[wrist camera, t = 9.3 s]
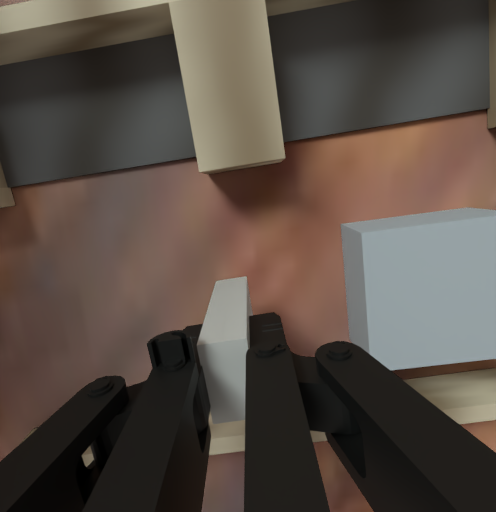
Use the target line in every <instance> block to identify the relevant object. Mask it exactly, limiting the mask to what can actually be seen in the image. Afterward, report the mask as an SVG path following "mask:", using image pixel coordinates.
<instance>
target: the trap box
mask: <svg viewBox="0 0 496 512" xmlns="http://www.w3.org/2000/svg"><path fill="white" fill-rule="evenodd" d="M482 109H487V122H488V129H489V128H495V127H496V0H33V1H28V2H22V3H17V4H12V5H7V6H2V7H0V208H4V207H10V206H16V205H15V202H14V198H13V195H12V192H11V187H17V186H23V185H29V184H35V183H41V182H47V181H54V180H60V179H66V178H72V177H78V176H84V175H90V174H96V173H102V172H108V171H114V170H120V169H126V168H132V167H138V166H144V165H150V164H156V163H162V162H168V161H174V160H180V159H186V158H192V157H197V163H198V168H199V172H201V173H205V174H213V173H219V172H225V171H231V170H237V169H243V168H249V167H256V166H262V165H268V164H274V163H280V162H281V161H283V160H284V159H285V151H284V143H283V142H289V141H295V140H301V139H307V138H313V137H319V136H325V135H331V134H337V133H343V132H350V131H356V130H362V129H368V128H374V127H380V126H386V125H392V124H398V123H404V122H410V121H416V120H422V119H428V118H434V117H440V116H446V115H452V114H458V113H464V112H470V111H476V110H482ZM403 381H404V382H406V383H407V384H408V385H410V386H411V387H412V388H413V389H415V390H416V391H417V392H418V393H420V394H421V395H422V396H424V397H425V398H426V399H427V400H429V401H430V402H431V403H433V404H434V405H435V406H436V407H438V408H439V409H440V410H441V411H443V412H444V413H445V414H447V415H448V416H449V417H450V418H452V419H453V420H454V421H455V422H457V423H458V424H466V423H474V422H482V421H490V420H496V368H491V369H483V370H475V371H468V372H460V373H452V374H445V375H437V376H429V377H422V378H414V379H406V380H403ZM209 426H210V430H211V442H210V450H209V455H215V454H224V453H232V452H240V451H245V420H240V421H233V422H226V423H219V424H213V422H212V417H211V412H210V414H209ZM36 429H37V428H34V429H33V430H32V431H31V432H30V433H29V434H28V436H27V437H29V436H30V435H31V434H32V433H33V432H34V431H35V430H36ZM310 433H311V437H312V441H313V442H321V441H327V438H326V435H325V432H318V431H310ZM27 437H26V438H27ZM26 438H25V439H26ZM25 439H24V440H25ZM24 440H23V441H24ZM23 441H22V442H23ZM22 442H21V443H22ZM21 443H20V444H21ZM20 444H19V445H20ZM82 458H83V461H84V464H85V466H86V467H87V466H88V465H89V464H90V463H91V462H92V461H93V460H94V458H93V454H92V451H91V448H90V446H89V447H88V448H87V450H86V451H85V452H84V453H83V454H82Z"/></svg>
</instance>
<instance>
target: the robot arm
mask: <svg viewBox="0 0 496 512" xmlns="http://www.w3.org/2000/svg"><path fill="white" fill-rule="evenodd" d="M147 347H148V351H149V355H150V359H151V363H152V367H153V369H152V371H151V373H150V375H149V377H148V379H147V380H146V381H144V382H141V383H138V384H135V385H132V386H129V387H126V383H125V379H124V378H122V377H121V376H105V377H102V378H99V379H96V380H95V381H94V382H91V383H89V384H88V385H86V386H85V387H84V388H82V389H81V390H80V391H79V392H78V393H77V394H75V395H74V396H73V397H72V398H71V399H70V400H69V401H68V402H67V403H65V404H64V405H63V406H62V407H61V408H60V409H59V410H58V411H56V412H55V413H54V414H53V415H52V416H51V417H50V418H49V419H48V420H46V421H45V422H44V423H43V424H42V425H41V426H40V427H39V428H37V429H36V430H35V431H34V432H33V433H32V434H31V435H30V436H29V437H27V438H26V439H25V440H24V441H23V442H22V443H21V444H20V445H19V446H17V447H16V448H15V449H14V450H13V451H12V452H11V453H10V454H8V455H7V456H6V457H5V458H4V459H3V460H2V461H1V462H0V512H201V510H202V502H203V495H204V487H205V480H206V472H207V465H208V457H209V450H210V442H211V430H210V426H209V414H210V412H211V417H212V422H213V424H219V423H226V422H233V421H240V420H245V482H244V512H330V510H329V506H328V501H327V497H326V493H325V489H324V485H323V481H322V477H321V473H320V469H319V465H318V461H317V457H316V453H315V449H314V445H313V441H312V437H311V433H310V431H318V432H325V435H326V438H327V441H328V442H329V444H330V445H331V447H332V448H333V450H334V451H335V453H336V454H337V456H338V458H339V459H340V461H341V462H342V464H343V465H344V467H345V468H346V470H347V471H348V473H349V474H350V476H351V477H352V479H353V480H354V482H355V483H356V485H357V486H358V488H359V489H360V491H361V492H362V494H363V495H364V497H365V498H366V500H367V502H368V503H369V505H370V506H371V508H372V509H373V511H374V512H496V453H495V452H494V451H493V450H491V449H490V448H489V447H487V446H486V445H485V444H484V443H482V442H481V441H480V440H478V439H477V438H476V437H475V436H473V435H472V434H471V433H470V432H468V431H467V430H466V429H464V428H463V427H462V426H461V425H459V424H458V423H457V422H455V421H454V420H453V419H452V418H450V417H449V416H448V415H447V414H445V413H444V412H443V411H441V410H440V409H439V408H438V407H436V406H435V405H434V404H433V403H431V402H430V401H429V400H427V399H426V398H425V397H424V396H422V395H421V394H420V393H418V392H417V391H416V390H415V389H413V388H412V387H411V386H410V385H408V384H407V383H406V382H404V381H403V380H402V379H401V378H399V377H398V376H397V375H395V374H394V373H393V372H392V371H390V370H389V369H388V368H387V367H385V366H384V365H383V364H381V363H380V362H379V361H378V360H376V359H375V358H374V357H373V356H371V355H370V354H369V353H367V352H366V351H365V350H364V349H362V348H361V347H359V346H357V345H356V344H353V343H349V342H345V341H341V342H340V341H335V342H332V343H327V344H325V345H322V346H321V347H319V348H318V349H317V350H316V353H315V357H305V356H300V355H296V354H294V353H292V352H291V351H290V349H289V347H288V345H287V343H286V339H285V335H284V331H283V327H282V323H281V318H280V316H278V315H277V314H275V313H274V312H273V313H266V314H260V315H253V312H252V306H251V300H250V294H249V288H248V282H247V276H245V277H239V278H232V279H226V280H219V281H216V283H215V286H214V289H213V293H212V296H211V299H210V303H209V306H208V309H207V313H206V316H205V319H204V323H203V324H199V325H193V326H187V327H186V328H185V329H183V330H177V331H170V332H166V333H163V334H160V335H158V336H156V337H154V338H152V339H151V340H150V341H149V342H148V343H147ZM89 446H90V448H91V451H92V454H93V458H94V460H93V461H92V462H91V463H90V464H89V465H88V466H87V467H86V466H85V464H84V461H83V458H82V454H83V453H84V452H85V451H86V450H87V448H88V447H89Z"/></svg>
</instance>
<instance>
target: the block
mask: <svg viewBox="0 0 496 512" xmlns="http://www.w3.org/2000/svg"><path fill="white" fill-rule="evenodd" d="M341 234H342V247H343V260H344V272H345V285H346V298H347V310H348V323H349V336H350V340H351V342H352V343H353V344H356V345H357V346H359V347H361V348H362V349H364V350H365V351H366V352H367V353H369V354H370V355H371V356H373V357H374V358H375V359H376V360H378V361H379V362H380V363H381V364H383V365H384V366H385V367H387V368H388V369H389V370H399V369H408V368H417V367H426V366H435V365H444V364H453V363H462V362H471V361H480V360H489V359H496V210H488V209H478V208H468V207H467V208H460V209H452V210H444V211H437V212H429V213H421V214H414V215H406V216H398V217H391V218H383V219H375V220H368V221H360V222H353V223H345V224H341Z"/></svg>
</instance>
